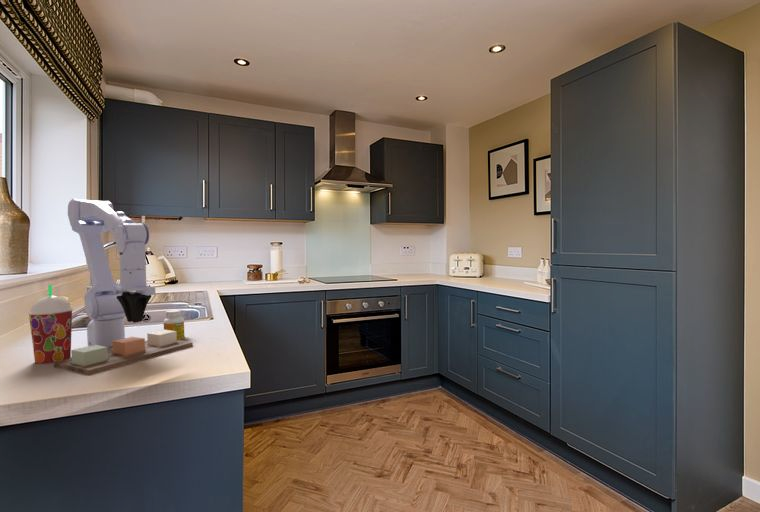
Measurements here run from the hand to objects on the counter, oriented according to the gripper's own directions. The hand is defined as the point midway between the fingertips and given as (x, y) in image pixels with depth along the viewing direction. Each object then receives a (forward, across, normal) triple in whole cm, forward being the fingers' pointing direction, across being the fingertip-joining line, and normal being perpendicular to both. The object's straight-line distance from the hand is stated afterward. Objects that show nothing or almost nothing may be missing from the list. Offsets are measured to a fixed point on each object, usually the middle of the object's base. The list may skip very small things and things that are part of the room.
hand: (135, 321), depth 104 cm
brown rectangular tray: (+9, +2, -3) cm, 10 cm away
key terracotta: (+8, +2, -3) cm, 9 cm away
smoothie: (+10, -12, -13) cm, 20 cm away
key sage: (+8, +2, -12) cm, 15 cm away
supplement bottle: (+10, -4, +14) cm, 17 cm away
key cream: (+8, +2, +6) cm, 10 cm away
